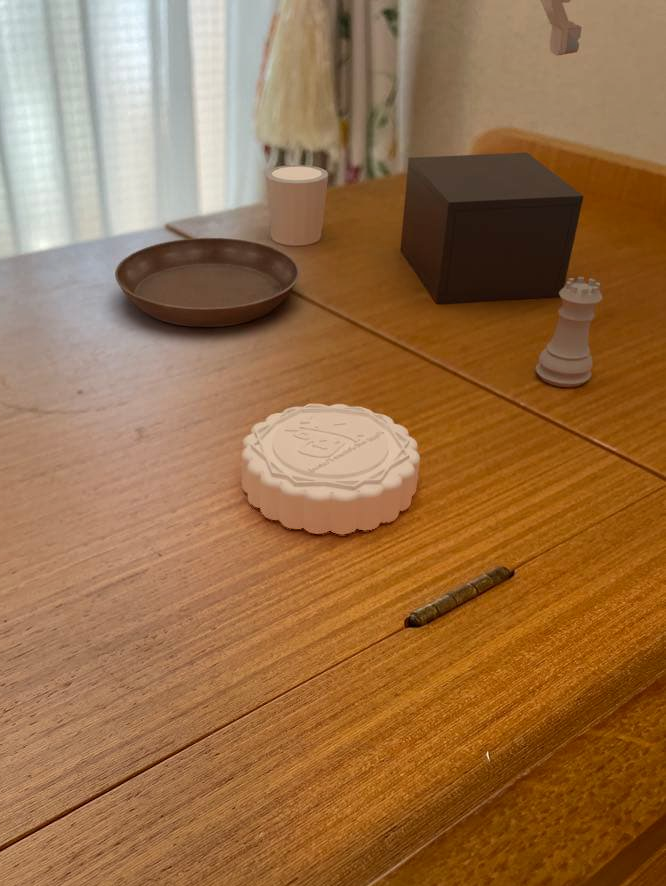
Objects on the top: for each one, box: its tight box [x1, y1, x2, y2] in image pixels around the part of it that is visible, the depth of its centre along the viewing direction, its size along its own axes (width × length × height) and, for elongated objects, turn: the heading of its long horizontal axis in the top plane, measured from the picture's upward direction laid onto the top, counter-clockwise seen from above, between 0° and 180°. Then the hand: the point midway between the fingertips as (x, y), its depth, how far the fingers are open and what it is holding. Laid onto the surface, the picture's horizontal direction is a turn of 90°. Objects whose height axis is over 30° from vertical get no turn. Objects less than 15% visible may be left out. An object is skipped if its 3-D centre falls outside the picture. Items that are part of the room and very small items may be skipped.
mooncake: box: [240, 403, 421, 534], centre depth 59 cm, size 12×12×4 cm
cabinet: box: [399, 152, 585, 305], centre depth 87 cm, size 15×13×10 cm
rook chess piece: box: [535, 276, 604, 388], centre depth 70 cm, size 4×4×8 cm
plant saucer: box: [114, 237, 300, 328], centre depth 84 cm, size 18×18×3 cm
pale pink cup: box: [265, 164, 329, 247], centre depth 97 cm, size 7×7×7 cm
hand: (624, 43), depth 65 cm, fingers open, 8 cm apart
